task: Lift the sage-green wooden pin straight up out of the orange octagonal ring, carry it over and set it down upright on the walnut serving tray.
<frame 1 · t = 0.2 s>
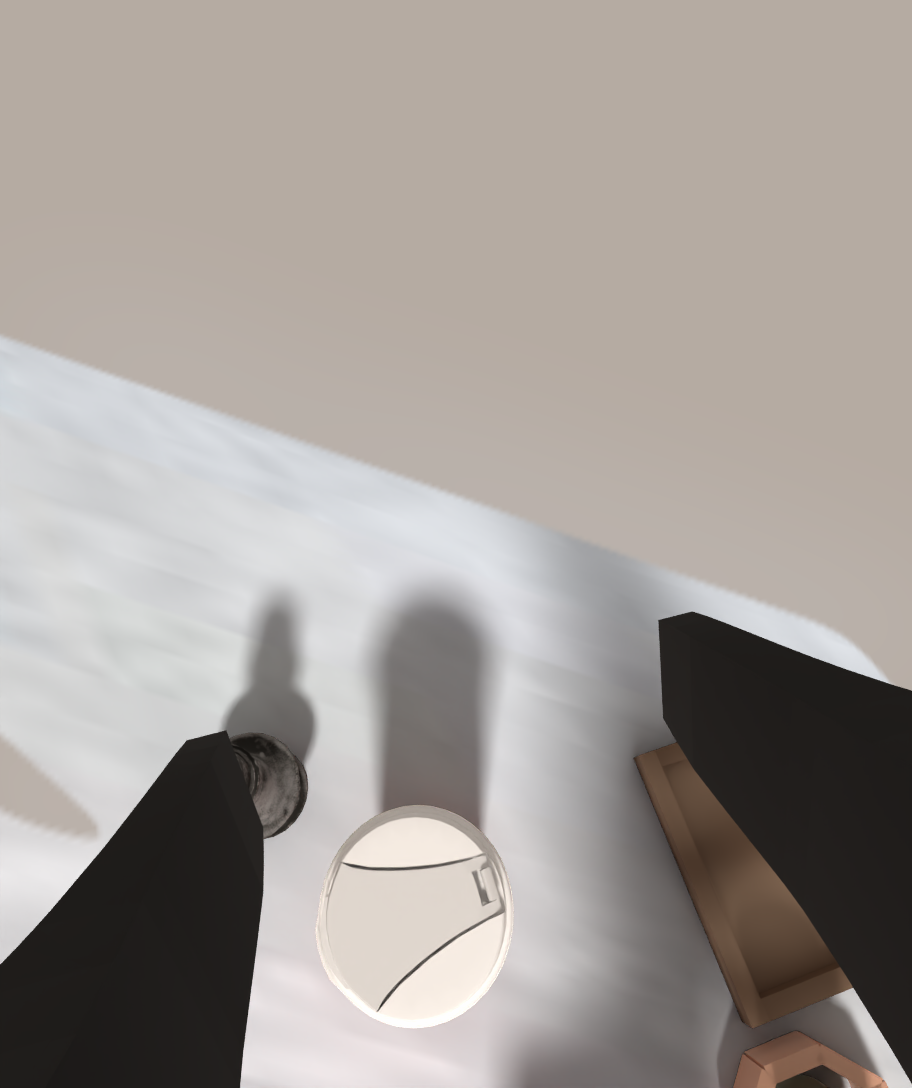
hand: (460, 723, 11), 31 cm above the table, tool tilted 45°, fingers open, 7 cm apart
paper cup: (429, 888, 38), on the table
salt shaker: (265, 791, 40), on the table
serving tray: (793, 839, 38), on the table
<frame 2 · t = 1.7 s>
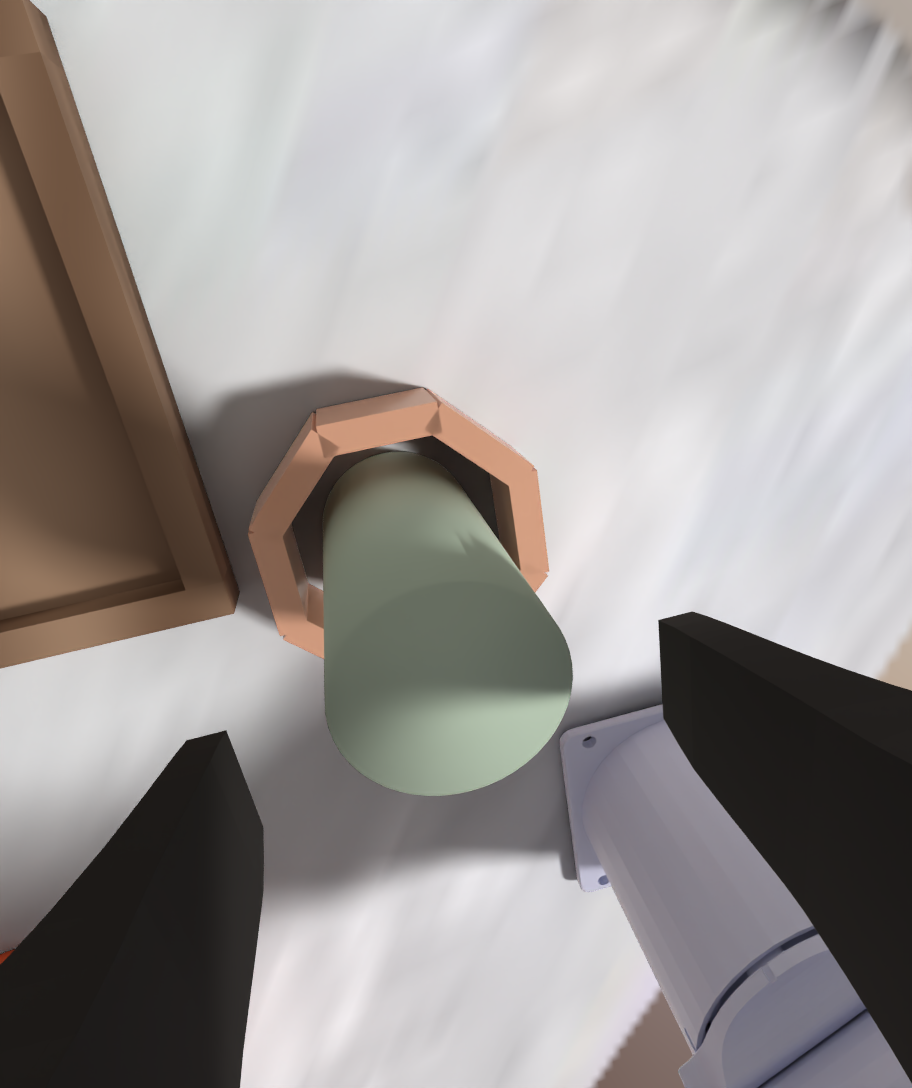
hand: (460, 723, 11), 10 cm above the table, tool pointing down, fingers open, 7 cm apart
green pin: (417, 586, 16), in the orange octagonal ring
orange octagonal ring: (397, 523, 20), on the table
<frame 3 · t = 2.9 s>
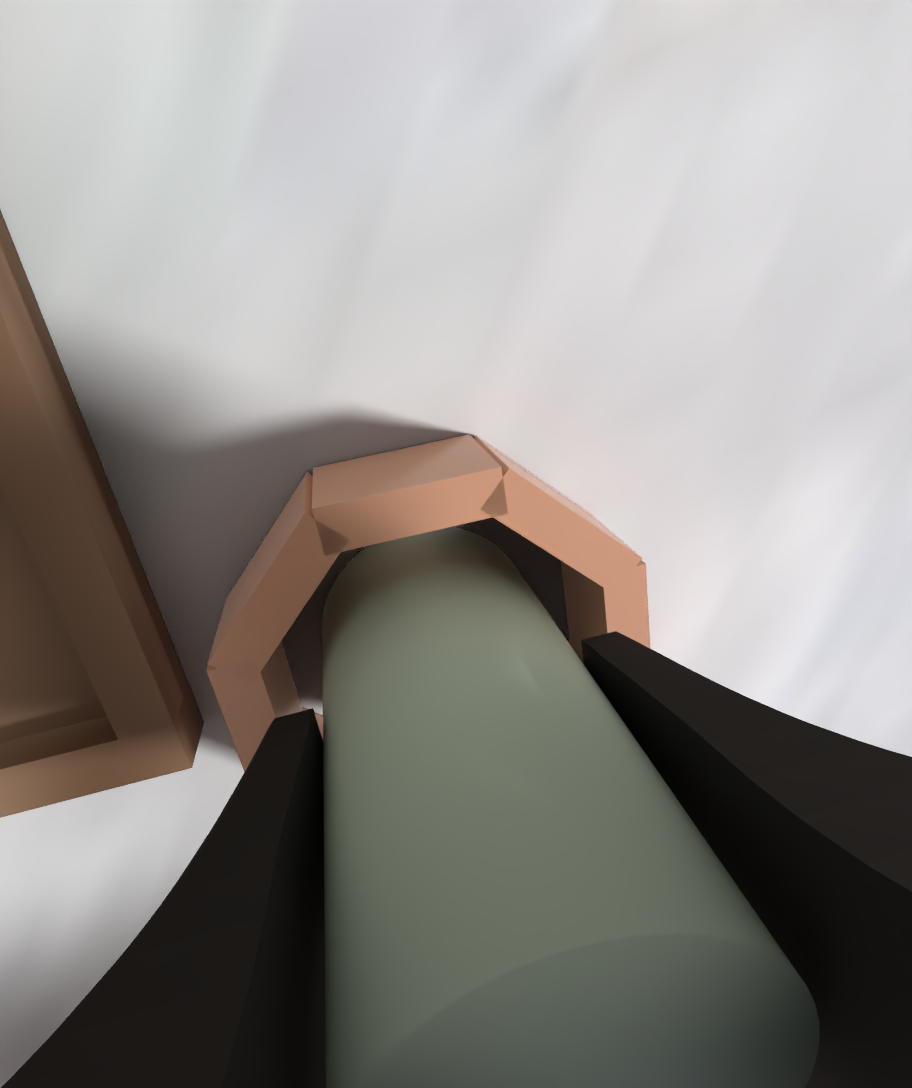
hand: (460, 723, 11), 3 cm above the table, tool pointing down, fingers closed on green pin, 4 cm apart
green pin: (474, 767, 10), in the orange octagonal ring, touching gripper
orange octagonal ring: (428, 623, 14), on the table
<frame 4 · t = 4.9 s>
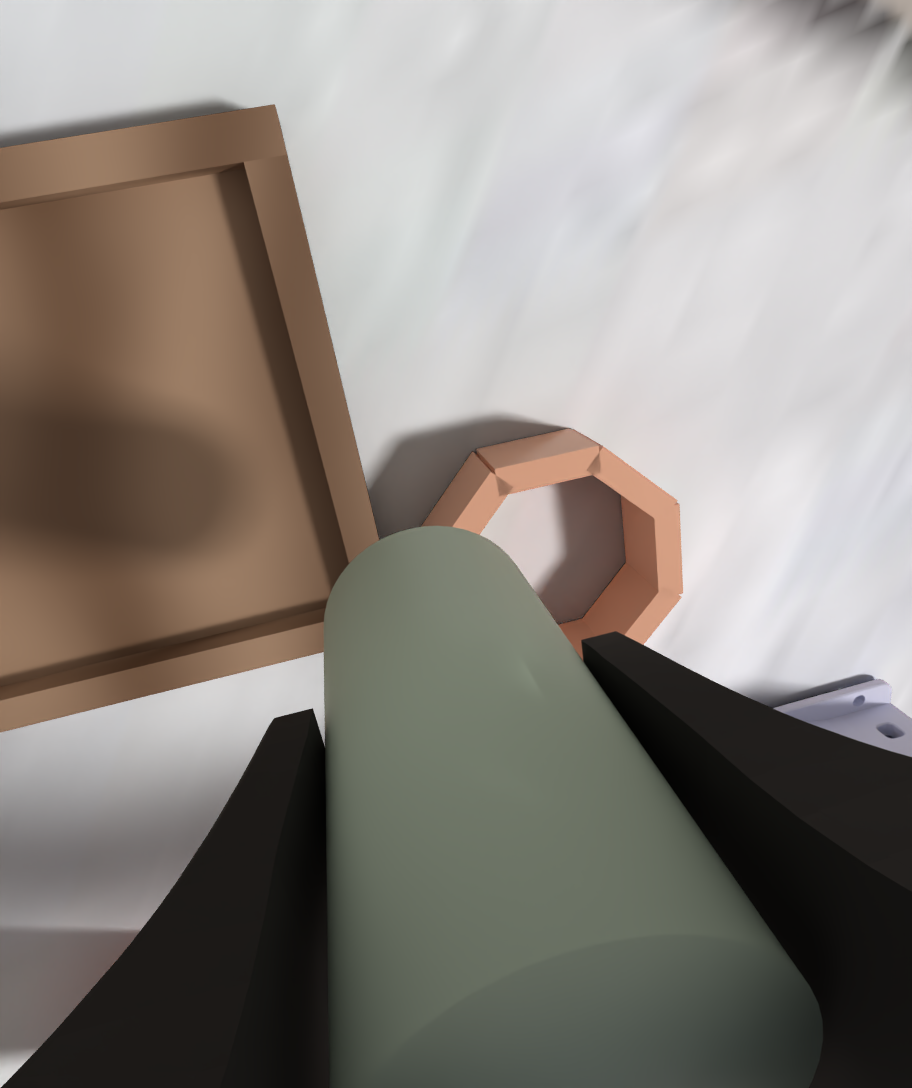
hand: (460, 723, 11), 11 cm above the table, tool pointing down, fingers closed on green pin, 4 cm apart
green pin: (476, 767, 10), point 12 cm above the table, touching gripper
serving tray: (95, 453, 18), on the table
orange octagonal ring: (538, 549, 22), on the table
when the fingers open (5 cm above the table, at t = 6.8 s): green pin drops 1 cm, resting on serving tray.
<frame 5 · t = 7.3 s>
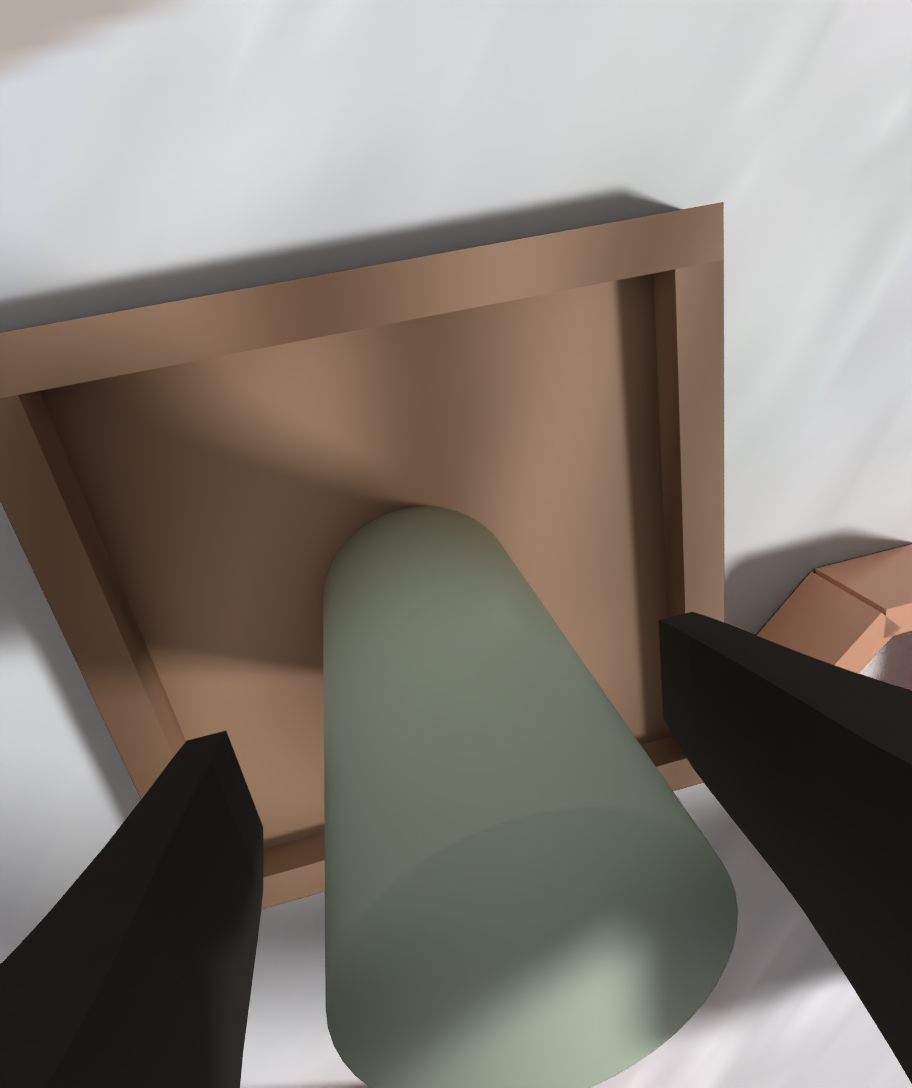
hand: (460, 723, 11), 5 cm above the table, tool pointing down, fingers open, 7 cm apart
green pin: (458, 715, 11), resting on serving tray
serving tray: (417, 587, 15), on the table
orange octagonal ring: (855, 672, 19), on the table
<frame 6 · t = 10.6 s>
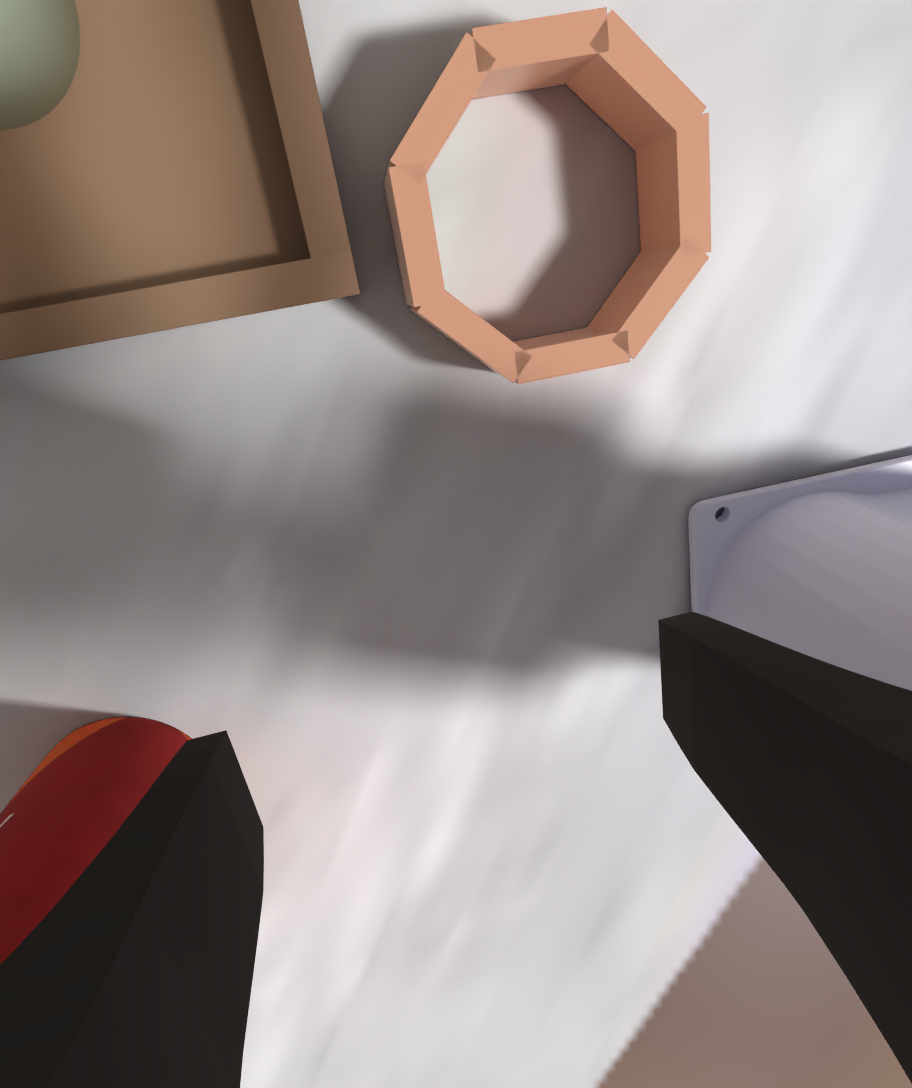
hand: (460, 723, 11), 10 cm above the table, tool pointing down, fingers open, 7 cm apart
paper cup: (134, 782, 23), on the table
orange octagonal ring: (532, 221, 18), on the table
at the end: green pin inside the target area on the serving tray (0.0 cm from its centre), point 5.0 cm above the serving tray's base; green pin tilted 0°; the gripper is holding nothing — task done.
